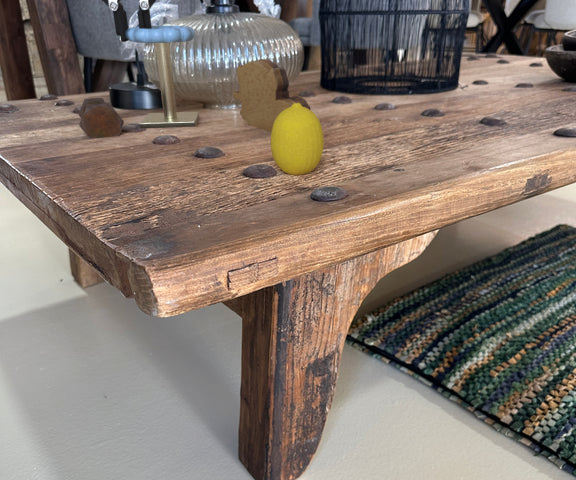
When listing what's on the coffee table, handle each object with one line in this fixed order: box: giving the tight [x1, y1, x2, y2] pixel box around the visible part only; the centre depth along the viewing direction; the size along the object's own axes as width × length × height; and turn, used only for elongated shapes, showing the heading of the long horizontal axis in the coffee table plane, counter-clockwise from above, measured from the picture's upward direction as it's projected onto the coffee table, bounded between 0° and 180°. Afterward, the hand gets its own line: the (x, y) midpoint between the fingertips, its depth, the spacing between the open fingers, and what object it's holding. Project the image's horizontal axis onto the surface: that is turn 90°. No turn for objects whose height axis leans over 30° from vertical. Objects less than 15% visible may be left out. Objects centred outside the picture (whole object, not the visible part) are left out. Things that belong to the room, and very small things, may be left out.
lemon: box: [270, 103, 325, 176], centre depth 59 cm, size 6×6×8 cm
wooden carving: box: [232, 58, 312, 133], centre depth 78 cm, size 16×5×10 cm, turn 39°
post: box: [139, 43, 200, 129], centre depth 85 cm, size 8×8×12 cm
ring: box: [126, 25, 196, 44], centre depth 82 cm, size 10×10×2 cm
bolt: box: [78, 97, 125, 140], centre depth 83 cm, size 6×5×15 cm
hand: (135, 39), depth 82 cm, fingers closed on ring, 2 cm apart
